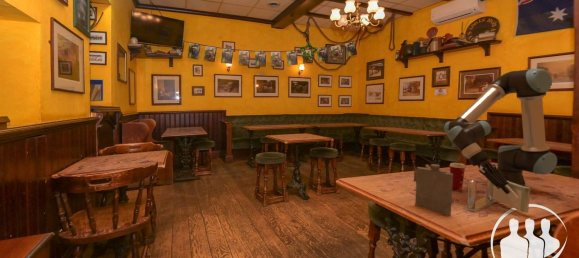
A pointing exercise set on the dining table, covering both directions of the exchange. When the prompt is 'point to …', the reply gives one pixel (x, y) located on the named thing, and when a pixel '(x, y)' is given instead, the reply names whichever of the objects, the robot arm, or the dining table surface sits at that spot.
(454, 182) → the paper cup
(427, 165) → the grey flat container
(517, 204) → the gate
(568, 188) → the dining table surface
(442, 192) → the hip flask
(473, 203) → the gate frame
